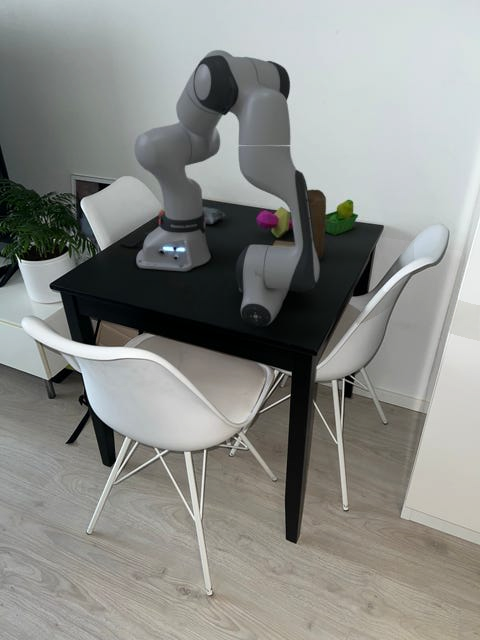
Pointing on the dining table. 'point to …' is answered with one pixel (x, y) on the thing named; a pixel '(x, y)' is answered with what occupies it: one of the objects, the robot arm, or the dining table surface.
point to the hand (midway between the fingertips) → (283, 261)
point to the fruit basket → (341, 218)
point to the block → (318, 218)
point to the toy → (276, 221)
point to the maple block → (284, 244)
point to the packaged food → (212, 215)
